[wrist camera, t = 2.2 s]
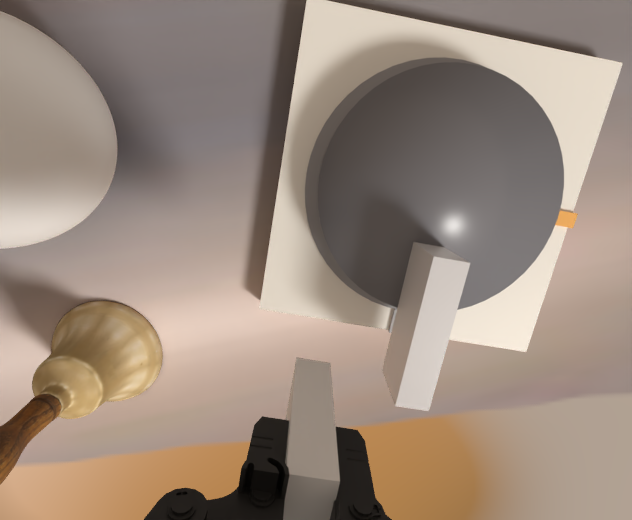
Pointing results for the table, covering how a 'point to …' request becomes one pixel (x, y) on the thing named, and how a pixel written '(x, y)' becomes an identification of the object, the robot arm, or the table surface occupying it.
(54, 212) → the decorative ball
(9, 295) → the table surface
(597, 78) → the dial plate
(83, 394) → the hand bell
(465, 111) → the dial
